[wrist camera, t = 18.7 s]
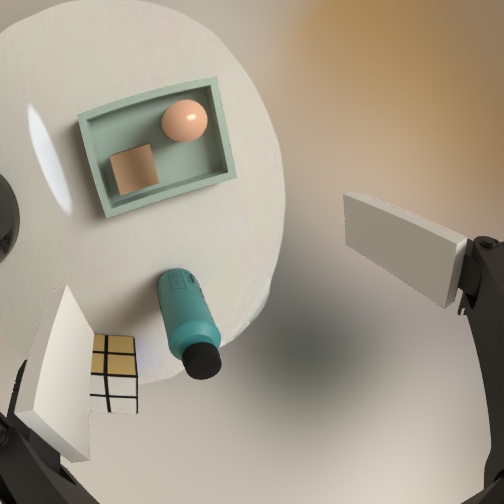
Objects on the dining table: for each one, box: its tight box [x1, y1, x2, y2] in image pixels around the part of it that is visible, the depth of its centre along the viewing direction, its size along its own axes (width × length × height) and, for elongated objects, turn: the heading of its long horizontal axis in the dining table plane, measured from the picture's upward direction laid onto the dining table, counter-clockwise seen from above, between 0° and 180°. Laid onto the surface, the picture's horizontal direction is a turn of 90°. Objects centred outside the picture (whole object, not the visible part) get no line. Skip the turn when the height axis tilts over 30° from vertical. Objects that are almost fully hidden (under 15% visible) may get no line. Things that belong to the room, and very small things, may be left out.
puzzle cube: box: [89, 334, 138, 414], centre depth 42 cm, size 10×10×10 cm
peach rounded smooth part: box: [160, 100, 207, 142], centre depth 33 cm, size 5×5×7 cm
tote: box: [77, 77, 237, 218], centre depth 35 cm, size 18×14×4 cm
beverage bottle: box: [157, 268, 221, 380], centre depth 37 cm, size 6×7×20 cm
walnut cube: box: [110, 143, 159, 196], centre depth 34 cm, size 5×5×5 cm
